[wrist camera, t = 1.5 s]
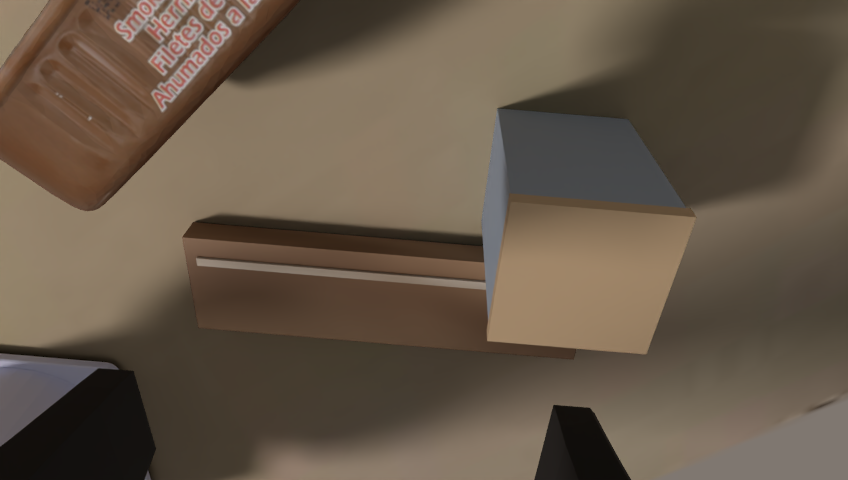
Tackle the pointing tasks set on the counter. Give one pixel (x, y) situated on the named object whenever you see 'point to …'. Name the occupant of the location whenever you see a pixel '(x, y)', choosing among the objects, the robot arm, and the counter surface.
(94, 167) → the tin
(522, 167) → the tan grey block
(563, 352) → the board
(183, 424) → the counter surface
